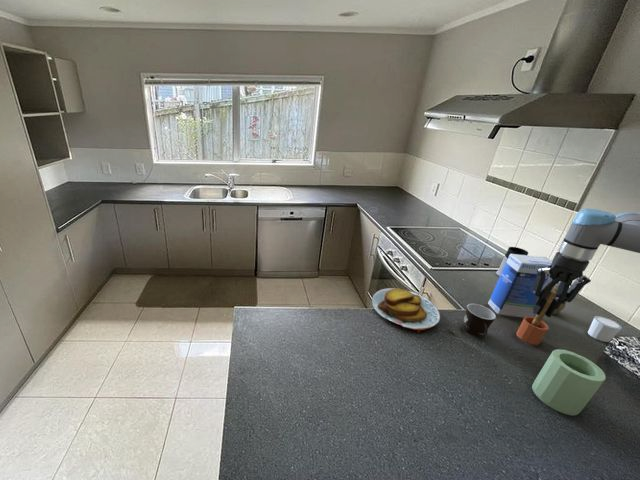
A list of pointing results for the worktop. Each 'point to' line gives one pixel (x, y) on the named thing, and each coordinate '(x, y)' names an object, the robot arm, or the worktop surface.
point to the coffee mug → (477, 320)
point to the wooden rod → (544, 308)
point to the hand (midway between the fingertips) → (541, 313)
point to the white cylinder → (603, 328)
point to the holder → (510, 251)
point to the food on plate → (406, 308)
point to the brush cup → (532, 331)
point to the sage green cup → (567, 382)
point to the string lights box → (518, 286)
